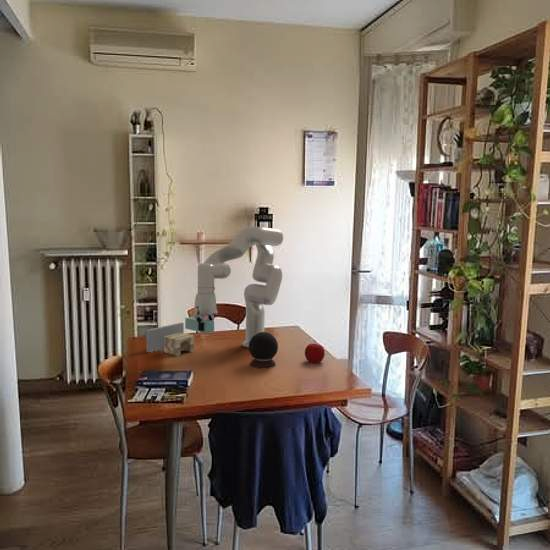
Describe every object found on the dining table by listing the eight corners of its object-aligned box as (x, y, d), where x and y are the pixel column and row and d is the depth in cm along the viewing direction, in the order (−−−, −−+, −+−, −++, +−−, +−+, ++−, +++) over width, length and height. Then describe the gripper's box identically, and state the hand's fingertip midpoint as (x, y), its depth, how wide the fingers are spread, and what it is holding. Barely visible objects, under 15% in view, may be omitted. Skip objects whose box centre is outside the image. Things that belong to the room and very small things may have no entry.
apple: (301, 363, 244) (301, 341, 243) (309, 358, 252) (309, 337, 251) (319, 366, 240) (320, 344, 238) (327, 361, 248) (327, 340, 246)
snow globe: (258, 358, 249) (259, 327, 247) (282, 363, 243) (283, 331, 241) (242, 365, 238) (243, 333, 236) (267, 371, 231) (268, 337, 229)
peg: (214, 331, 244) (214, 320, 244) (206, 333, 240) (206, 322, 240) (193, 326, 253) (193, 316, 252) (185, 328, 249) (185, 318, 248)
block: (194, 351, 259) (194, 335, 258) (176, 355, 251) (176, 339, 249) (181, 347, 265) (181, 332, 264) (164, 352, 256) (164, 336, 255)
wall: (183, 344, 272) (183, 323, 270) (148, 353, 255) (148, 330, 253) (181, 343, 273) (181, 322, 271) (146, 352, 256) (146, 330, 254)
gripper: (213, 287, 251) (213, 325, 253) (186, 291, 237) (186, 331, 240) (224, 289, 246) (224, 327, 248) (197, 293, 233) (197, 334, 235)
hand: (205, 329), depth 244 cm, fingers closed on peg, 5 cm apart
